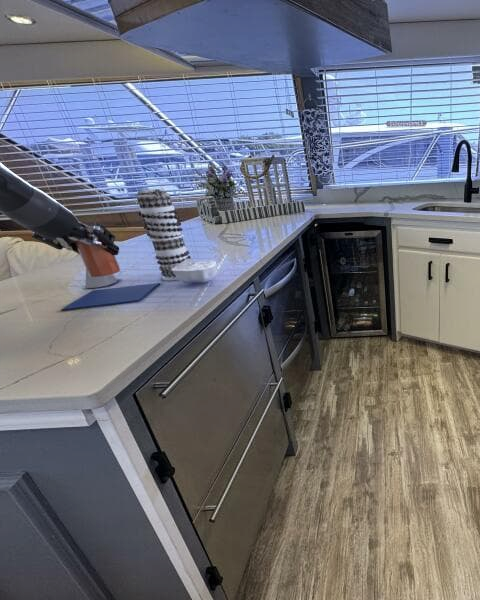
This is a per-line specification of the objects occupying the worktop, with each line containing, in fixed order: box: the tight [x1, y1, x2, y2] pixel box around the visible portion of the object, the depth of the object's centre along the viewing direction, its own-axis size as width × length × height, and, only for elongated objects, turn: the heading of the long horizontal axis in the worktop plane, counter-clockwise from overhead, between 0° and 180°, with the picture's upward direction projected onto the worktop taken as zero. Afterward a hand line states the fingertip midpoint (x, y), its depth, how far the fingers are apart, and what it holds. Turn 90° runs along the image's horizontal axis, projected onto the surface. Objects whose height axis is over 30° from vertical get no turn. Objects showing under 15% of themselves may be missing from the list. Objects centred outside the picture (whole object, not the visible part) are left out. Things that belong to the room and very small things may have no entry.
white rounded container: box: [171, 258, 218, 284], centre depth 90 cm, size 10×12×7 cm
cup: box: [75, 233, 121, 277], centre depth 79 cm, size 6×6×10 cm
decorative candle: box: [135, 188, 192, 282], centre depth 93 cm, size 9×9×25 cm
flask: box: [85, 268, 118, 289], centre depth 91 cm, size 7×7×10 cm
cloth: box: [61, 282, 160, 312], centre depth 84 cm, size 16×13×1 cm
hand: (102, 252), depth 81 cm, fingers closed on cup, 6 cm apart
